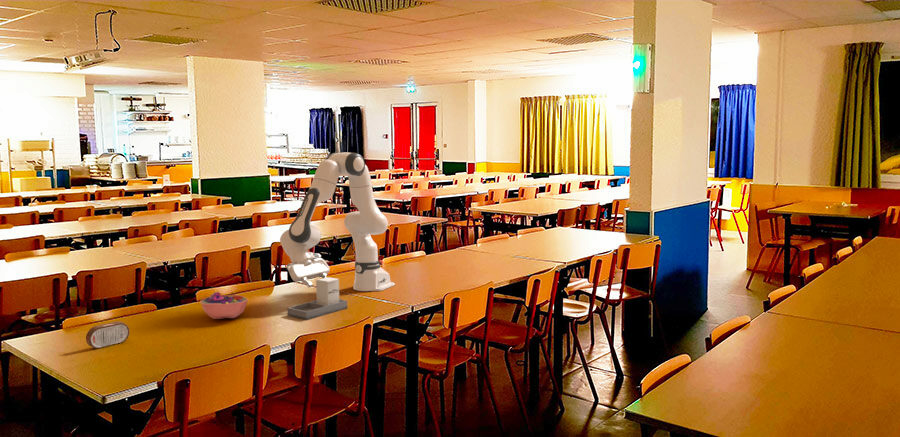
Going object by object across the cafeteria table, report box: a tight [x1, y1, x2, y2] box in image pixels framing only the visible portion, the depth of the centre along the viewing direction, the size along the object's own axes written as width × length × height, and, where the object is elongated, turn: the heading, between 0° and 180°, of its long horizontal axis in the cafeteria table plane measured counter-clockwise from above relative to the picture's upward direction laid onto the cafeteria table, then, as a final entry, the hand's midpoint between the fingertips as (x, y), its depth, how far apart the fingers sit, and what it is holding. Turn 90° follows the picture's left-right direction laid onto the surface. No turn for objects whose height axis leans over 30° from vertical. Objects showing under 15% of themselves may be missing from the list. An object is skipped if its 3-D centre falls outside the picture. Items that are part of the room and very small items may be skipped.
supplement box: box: [315, 276, 340, 306], centre depth 301 cm, size 7×7×13 cm
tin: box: [85, 321, 130, 349], centre depth 251 cm, size 15×3×8 cm, turn 141°
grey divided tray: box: [287, 298, 348, 321], centre depth 297 cm, size 24×12×4 cm, turn 143°
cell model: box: [200, 291, 249, 320], centre depth 287 cm, size 17×20×11 cm
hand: (318, 284), depth 304 cm, fingers open, 8 cm apart
